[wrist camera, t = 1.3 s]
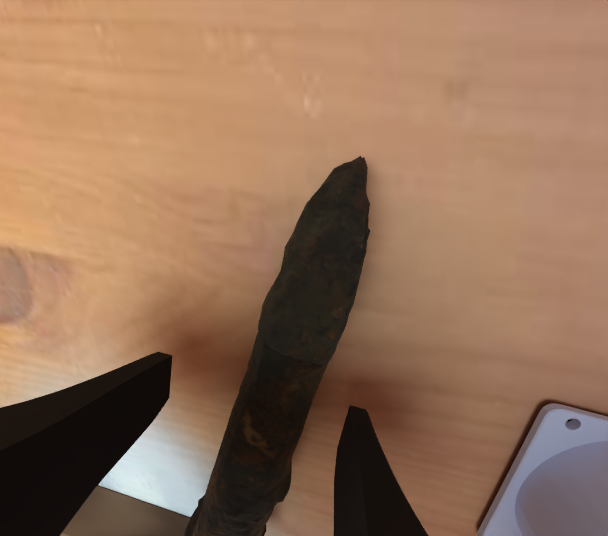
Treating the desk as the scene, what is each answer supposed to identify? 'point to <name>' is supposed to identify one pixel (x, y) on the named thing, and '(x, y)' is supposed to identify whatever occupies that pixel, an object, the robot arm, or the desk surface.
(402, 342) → the desk surface
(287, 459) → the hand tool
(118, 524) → the grey brown flat box
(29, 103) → the desk surface
